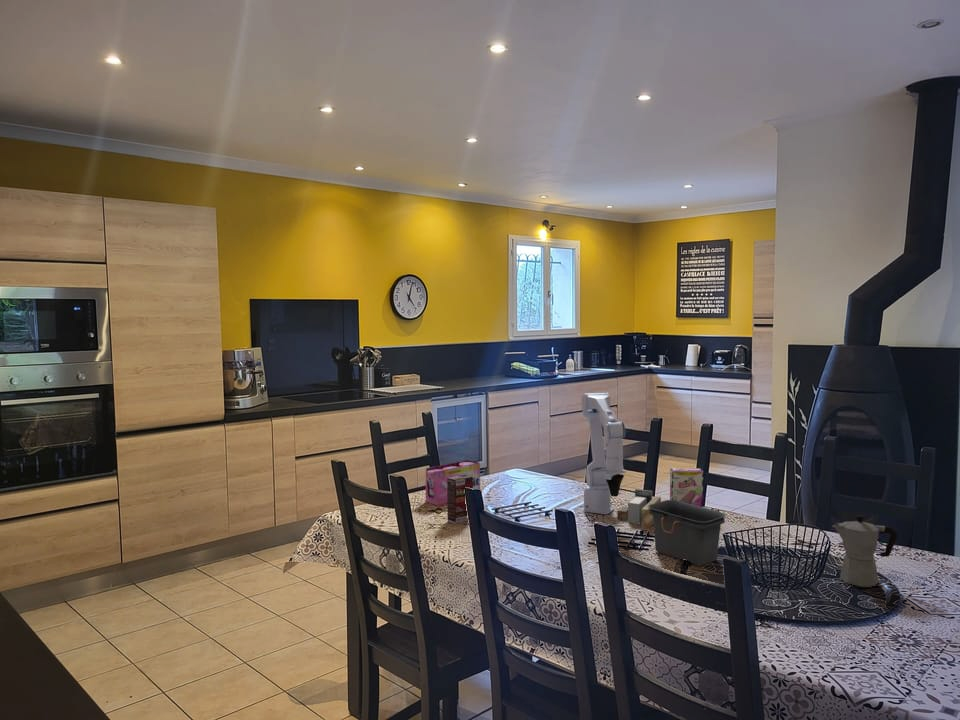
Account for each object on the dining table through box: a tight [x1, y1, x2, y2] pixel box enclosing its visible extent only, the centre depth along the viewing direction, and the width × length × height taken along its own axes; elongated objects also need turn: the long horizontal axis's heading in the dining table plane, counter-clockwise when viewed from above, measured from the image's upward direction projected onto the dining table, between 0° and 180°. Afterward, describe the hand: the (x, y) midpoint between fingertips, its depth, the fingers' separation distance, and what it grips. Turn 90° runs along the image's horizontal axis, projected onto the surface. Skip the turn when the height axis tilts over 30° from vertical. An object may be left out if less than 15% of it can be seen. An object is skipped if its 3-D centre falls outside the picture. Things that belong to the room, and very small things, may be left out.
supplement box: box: [446, 475, 473, 525], centre depth 246 cm, size 9×5×16 cm, turn 131°
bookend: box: [634, 488, 653, 504], centre depth 251 cm, size 6×3×9 cm, turn 62°
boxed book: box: [627, 496, 647, 524], centre depth 245 cm, size 4×10×7 cm, turn 151°
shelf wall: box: [641, 496, 662, 531], centre depth 241 cm, size 2×18×7 cm, turn 152°
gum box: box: [425, 459, 481, 506], centre depth 276 cm, size 24×8×14 cm, turn 132°
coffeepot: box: [832, 514, 899, 588], centre depth 185 cm, size 15×9×18 cm, turn 68°
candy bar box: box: [669, 467, 704, 508], centre depth 250 cm, size 11×5×16 cm, turn 84°
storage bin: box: [648, 499, 727, 567], centre depth 206 cm, size 21×16×14 cm
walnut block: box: [616, 506, 628, 521], centre depth 247 cm, size 3×6×3 cm, turn 151°
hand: (614, 495), depth 237 cm, fingers closed
